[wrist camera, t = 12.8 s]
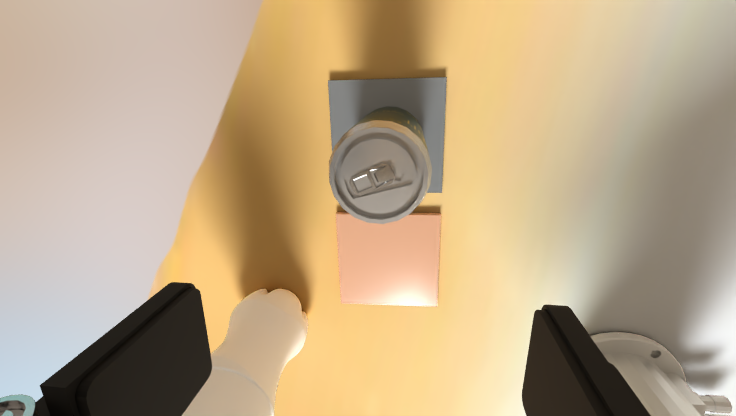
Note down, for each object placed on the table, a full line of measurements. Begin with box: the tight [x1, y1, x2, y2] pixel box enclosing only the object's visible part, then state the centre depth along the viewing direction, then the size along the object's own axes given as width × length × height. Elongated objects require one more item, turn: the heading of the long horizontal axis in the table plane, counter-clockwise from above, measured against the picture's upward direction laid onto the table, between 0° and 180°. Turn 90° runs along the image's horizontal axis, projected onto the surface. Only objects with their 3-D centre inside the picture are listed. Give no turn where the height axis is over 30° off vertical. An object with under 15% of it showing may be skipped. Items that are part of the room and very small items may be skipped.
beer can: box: [329, 106, 432, 224], centre depth 24 cm, size 5×5×12 cm
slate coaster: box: [328, 77, 447, 193], centre depth 30 cm, size 9×9×1 cm
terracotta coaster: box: [336, 212, 441, 307], centre depth 33 cm, size 9×9×1 cm
